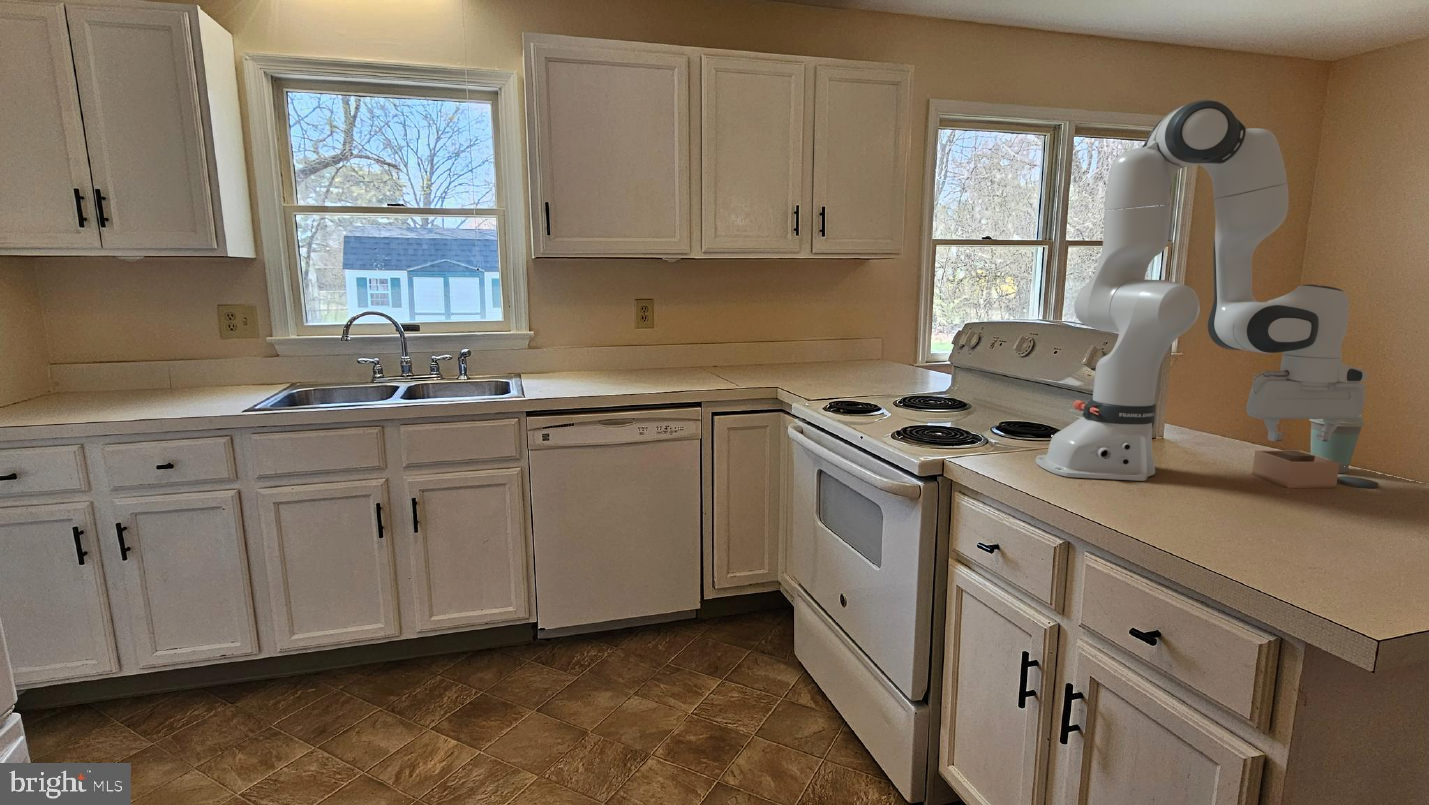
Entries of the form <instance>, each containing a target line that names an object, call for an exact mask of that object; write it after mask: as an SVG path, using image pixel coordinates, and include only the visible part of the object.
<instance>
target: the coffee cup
mask: <svg viewBox="0 0 1429 805" xmlns="http://www.w3.org/2000/svg"><path fill="white" fill-rule="evenodd" d="M1308 420H1309V421H1310V453H1311V454H1314V455H1317V456H1320V457H1324V458H1327V459H1330V460H1333V461H1337V462H1340V465H1339V471H1338V474H1346V473H1347V472H1348V471H1349V467H1350V464H1351V461H1352V458H1353V455H1354V452H1355V449H1356V445H1357V443H1358V440H1359V437H1360V433H1361V431H1362V427H1365V425H1364V420H1363V416H1362V414H1361V415H1360V416H1359V417H1358V418H1357V419H1340V423H1339V425H1338V427H1337V428H1336V429H1335V430H1334V431H1333V432H1332V433H1331V439H1330V441H1318V440H1316V438H1315V437H1316V431H1321V429H1322V428H1323V426H1324V425H1325V422H1323V419H1308ZM1344 466H1345V467H1344Z"/></svg>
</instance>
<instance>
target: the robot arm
mask: <svg viewBox="0 0 1429 805" xmlns="http://www.w3.org/2000/svg"><path fill="white" fill-rule="evenodd" d="M1194 166H1200V167H1202V168H1203V169H1204V170H1205V171H1206V172H1207V174H1208V175H1209V178H1210V180H1211V182H1212V195H1213V197H1212V198H1213V206H1214V217H1215V228H1214V229H1215V231H1214V236H1213V246H1212V248H1213V250H1212V251H1213V254H1212V255H1213V256H1212V257H1213V262H1212V263H1213V303H1212V306H1211V307H1212V308H1211V310H1210V314H1209V315H1208V320H1207V331H1208V335H1209V337H1210V338H1211V340H1212V341H1213V343H1214V344H1216V345H1218V346H1219V347H1220V348H1222V349H1225V350H1230V351H1247V352H1252V353H1261V354H1268V355H1271V354H1276V353H1282V356H1281V363H1280V369H1279V370H1263V371H1261V373H1258V374H1256V376H1254V378H1253V380H1252V387H1251V389H1250V392H1249V395H1248V400H1247V403H1246V407H1245V412H1246V413H1247V415H1248V416H1249V417H1250V418H1251V417H1252V418H1256V419H1259V420H1263V424H1264V426H1265V427H1266V429H1267V431H1268V434H1267V440H1268V441H1270V442H1281V441H1283V435H1284V432H1280V431H1279V429H1278V427H1277V425H1279V424H1280V420H1309V419H1323V422H1325V425H1324V426H1323V428H1322V429H1321V431H1316V437H1315V438H1316V440H1318V441H1330V439H1331V433H1332V432H1333V431H1334V430H1335V429H1336V428H1337V427H1338V425H1339V423H1340V419H1357V418H1358V417H1359V416H1360V415H1362V414H1363V411H1364V408H1365V407H1364V406H1365V400H1366V387H1365V385H1364V384H1363V383H1365V382H1366V380H1367V378H1368V372H1367V371H1366V370H1363V369H1360V368H1357V367H1354V366H1351V365H1349V364H1345V363H1342V361H1343V350H1342V344H1343V342H1344V339H1345V337H1346V335H1347V330H1348V327H1349V326H1348V325H1349V324H1348V323H1349V316H1350V315H1349V314H1350V301H1349V297H1348V294H1347V293H1346V292H1345V291H1344V290H1342V289H1340V288H1338V287H1333V286H1330V285H1329V286H1327V285H1319V284H1311V283H1310V284H1300V285H1298V286H1297V287H1296V288H1294V290H1292V291H1290V292H1288V293H1286V294H1284V295H1282V296H1279V297H1275V298H1273V299H1270V300H1267V301H1264V302H1263V301H1257V300H1256V298H1255V296H1254V294H1253V256H1254V253H1255V250H1256V248H1257V247H1258V246H1259V245H1260V244H1261V242H1263V240H1265V239H1266V238H1267V237H1268V236H1270V235H1272V234H1273V233H1274V232H1275V231H1276V230H1278V228H1280V226H1281V225H1282V224H1283V223H1284V222H1285V219H1287V215H1288V210H1289V202H1290V196H1289V186H1288V178H1287V171H1286V167H1285V166H1286V165H1285V162H1284V158H1283V154H1282V151H1281V149H1280V145H1279V142H1278V140H1277V136H1275V134H1274V133H1273V132H1272V131H1270V130H1269V129H1266V128H1258V127H1257V128H1256V127H1254V128H1253V127H1252V128H1251V127H1250V128H1246V126H1245V125H1244V124H1243V123H1242V122H1241V121H1240V120H1239V119H1238V118H1237V117H1236V115H1235V114H1234V112H1233V111H1232V110H1231V109H1230V108H1229V107H1228V106H1227V105H1225V104H1224V103H1222V102H1219V101H1216V100H1212V99H1211V100H1209V99H1202V100H1201V99H1200V100H1197V101H1192V102H1190V103H1188V104H1185V105H1182V106H1179V107H1177V108H1175V109H1173V110H1172V111H1170V112H1169V113H1167V115H1166V116H1163V117H1162V119H1160V120H1159V121H1158V123H1157V124H1156V125H1155V126H1154V127H1153V128H1152V130H1151V132H1150V133H1149V135H1148V137H1147V139H1146V140H1145V141H1144V143H1143V145H1142V147H1135V148H1133V149H1129V150H1126V151H1124V152H1122V153H1120V154H1119V155H1118V156H1117V157H1116V158H1115V159H1114V160H1113V161H1112V163H1111V166H1110V169H1109V174H1108V178H1107V183H1106V190H1105V199H1104V216H1103V234H1102V235H1103V236H1102V247H1101V253H1100V257H1099V261H1098V263H1097V266H1096V269H1095V271H1094V273H1093V275H1092V277H1091V279H1090V280H1089V281H1088V282H1087V283H1086V284H1085V285H1084V286H1083V287H1082V288H1081V289H1080V290H1079V291H1078V293H1077V295H1076V297H1075V300H1074V312H1075V313H1074V314H1075V316H1076V318H1077V319H1078V321H1079V322H1080V323H1081V324H1082V325H1085V326H1087V327H1089V328H1091V329H1094V330H1097V331H1098V332H1099V331H1100V332H1106V333H1113V334H1118V336H1117V340H1116V342H1115V344H1114V346H1113V349H1111V350H1110V353H1108V354H1105V355H1103V356H1102V357H1101V358H1100V359H1098V361H1097V363H1096V365H1095V371H1094V372H1095V373H1094V380H1093V381H1094V382H1093V389H1092V390H1093V391H1092V398H1091V399H1090V400H1089V401H1088V402H1087V403H1086V402H1084V401H1081V400H1079V399H1077V400H1074V402H1073V404H1072V408H1073V409H1074V410H1078V411H1079V412H1083V413H1082V417H1080V418H1078V419H1076V420H1075V421H1074V422H1072V423H1071V424H1069V425H1068V426H1066V427H1064V428H1063V429H1062V428H1061V429H1060V430H1059V431H1057V432H1056V433H1054V434H1053V436H1052V437H1051V439H1050V441H1049V445H1048V450H1047V453H1046V454H1040V455H1037V456H1036V457H1035V463H1036V464H1037V465H1038V466H1039V467H1041V468H1042V469H1044V470H1046V471H1048V472H1050V473H1053V474H1055V475H1058V476H1063V477H1065V478H1066V477H1067V478H1080V479H1081V478H1082V479H1097V480H1098V479H1104V480H1117V481H1119V480H1120V481H1121V480H1122V481H1137V482H1138V481H1140V482H1141V481H1142V482H1145V481H1147V480H1148V477H1151V476H1154V475H1155V474H1156V473H1157V472H1156V468H1155V463H1154V458H1153V441H1152V438H1153V429H1154V426H1155V422H1156V414H1157V412H1156V411H1157V405H1156V403H1155V399H1156V390H1157V384H1158V378H1159V372H1160V368H1161V364H1162V362H1163V360H1164V358H1165V356H1166V354H1167V352H1168V350H1169V349H1170V347H1171V345H1173V344H1174V342H1175V341H1176V340H1177V339H1178V338H1179V337H1180V336H1181V335H1183V334H1185V333H1186V332H1188V331H1189V330H1190V329H1191V328H1192V327H1193V326H1194V325H1195V323H1196V322H1197V320H1198V318H1199V316H1200V309H1201V306H1200V305H1201V304H1200V300H1199V297H1198V294H1197V293H1196V291H1195V290H1194V289H1193V288H1191V286H1188V285H1185V284H1182V283H1179V282H1175V281H1172V280H1171V281H1170V280H1168V279H1167V280H1166V279H1146V274H1147V271H1148V269H1149V266H1150V264H1151V263H1152V261H1153V260H1154V258H1155V257H1157V256H1159V255H1160V254H1161V253H1162V252H1163V251H1165V249H1166V248H1167V246H1168V244H1169V234H1170V232H1169V231H1170V215H1171V214H1170V212H1171V210H1170V209H1171V205H1170V204H1171V187H1172V182H1173V179H1174V177H1175V175H1176V174H1177V172H1178V171H1179V170H1180V169H1183V168H1188V167H1189V168H1190V167H1194Z"/></svg>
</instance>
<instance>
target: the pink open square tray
mask: <svg viewBox="0 0 1429 805" xmlns="http://www.w3.org/2000/svg"><path fill="white" fill-rule="evenodd" d="M1278 451H1301V452H1304V453H1307V454H1310V455H1314V454H1311V452H1308V451H1307V452H1306V451H1304V450H1301V449H1300V450H1299V449H1298V450H1297V449H1296V450H1294V449H1293V450H1289V449H1288V450H1286V449H1283V450H1279V449H1278V450H1276V449H1275V450H1274V449H1273V450H1269V449H1268V450H1267V449H1266V450H1261V449H1260V450H1258V449H1257V450H1254V456H1253V464H1252V470H1251V475H1252V476H1255V477H1259V478H1261V479H1263V480H1266V481H1269V482H1272V483H1274V484H1276V485H1279V486H1282V487H1285V488H1287V489H1311V488H1312V489H1331V488H1332V489H1335V488H1336V487H1337V483H1338V482H1337V477H1339V473H1338V471H1339V465H1340V462H1337V461H1333V460H1330V459H1327V458H1324V457H1320V456H1317V455H1314V456H1315V458H1314V462H1292V461H1289V460H1286V459H1283V458H1280V457H1277V455H1278Z"/></svg>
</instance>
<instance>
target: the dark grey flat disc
mask: <svg viewBox="0 0 1429 805" xmlns="http://www.w3.org/2000/svg"><path fill="white" fill-rule="evenodd" d="M1337 483H1338V484H1340V485H1344V486H1348V487H1352V488H1357V489H1358V488H1359V489H1369V490H1370V489H1371V490H1372V489H1378V486H1379V482H1377V481H1375V480H1372V479H1368V478H1362V477H1357V476H1346V475H1345V476H1342V475H1341V476H1338V477H1337Z"/></svg>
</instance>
